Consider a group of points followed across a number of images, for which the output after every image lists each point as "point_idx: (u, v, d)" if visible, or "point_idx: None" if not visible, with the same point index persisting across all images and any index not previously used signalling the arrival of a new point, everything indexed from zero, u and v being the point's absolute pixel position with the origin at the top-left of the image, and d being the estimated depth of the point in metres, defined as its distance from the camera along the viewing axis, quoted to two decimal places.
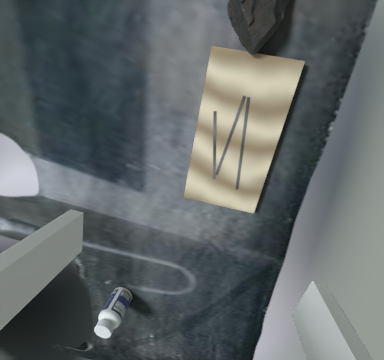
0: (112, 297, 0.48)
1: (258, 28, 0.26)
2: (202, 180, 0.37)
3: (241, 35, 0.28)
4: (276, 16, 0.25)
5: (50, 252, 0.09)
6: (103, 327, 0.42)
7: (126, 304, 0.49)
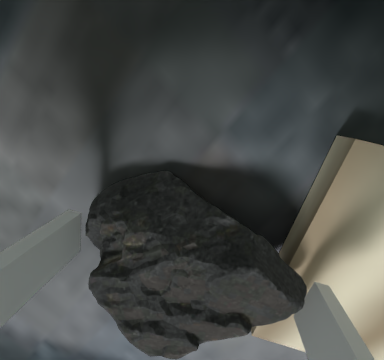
0: None
1: (262, 307, 0.09)
2: None
3: None
4: (235, 253, 0.09)
5: (48, 252, 0.09)
6: None
7: None
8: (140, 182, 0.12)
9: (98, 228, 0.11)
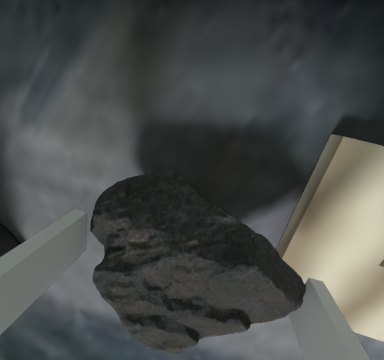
0: None
1: (261, 305, 0.09)
2: None
3: None
4: (235, 251, 0.09)
5: (55, 251, 0.09)
6: None
7: None
8: (144, 180, 0.12)
9: (103, 224, 0.11)
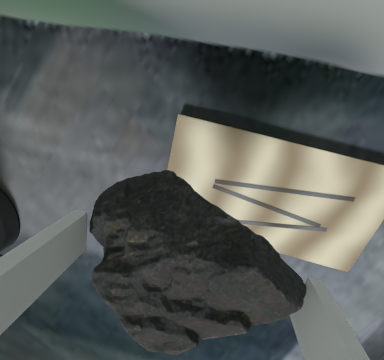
0: None
1: (261, 306, 0.09)
2: (325, 245, 0.24)
3: None
4: (235, 252, 0.09)
5: (55, 251, 0.09)
6: None
7: None
8: (144, 181, 0.12)
9: (102, 225, 0.11)
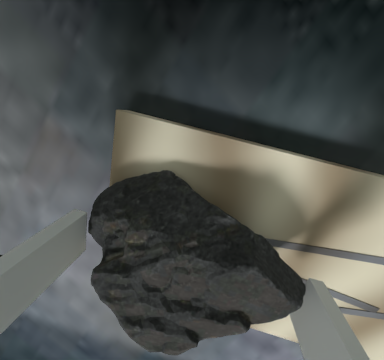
0: None
1: (261, 305, 0.09)
2: (383, 339, 0.14)
3: None
4: (235, 252, 0.09)
5: (55, 251, 0.09)
6: None
7: None
8: (142, 181, 0.12)
9: (101, 226, 0.11)
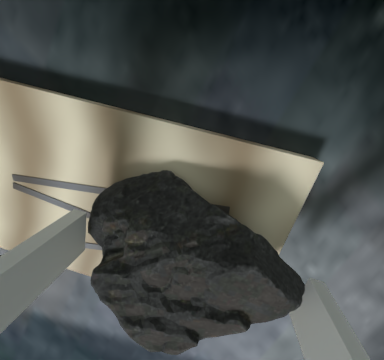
0: None
1: (260, 305, 0.09)
2: None
3: None
4: (234, 251, 0.09)
5: (54, 251, 0.09)
6: None
7: None
8: (142, 181, 0.12)
9: (100, 226, 0.11)
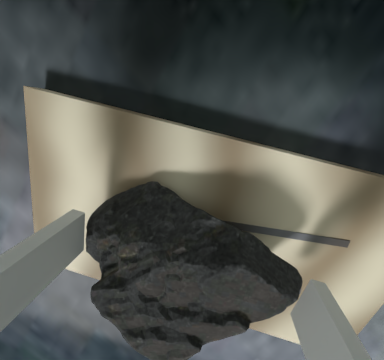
0: None
1: (256, 303, 0.09)
2: None
3: None
4: (222, 252, 0.09)
5: (52, 252, 0.09)
6: None
7: None
8: (130, 195, 0.12)
9: (96, 244, 0.12)
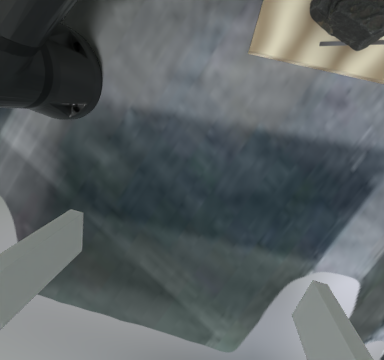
0: None
1: None
2: None
3: None
4: None
5: (50, 252, 0.09)
6: None
7: None
8: None
9: None
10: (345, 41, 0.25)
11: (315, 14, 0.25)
